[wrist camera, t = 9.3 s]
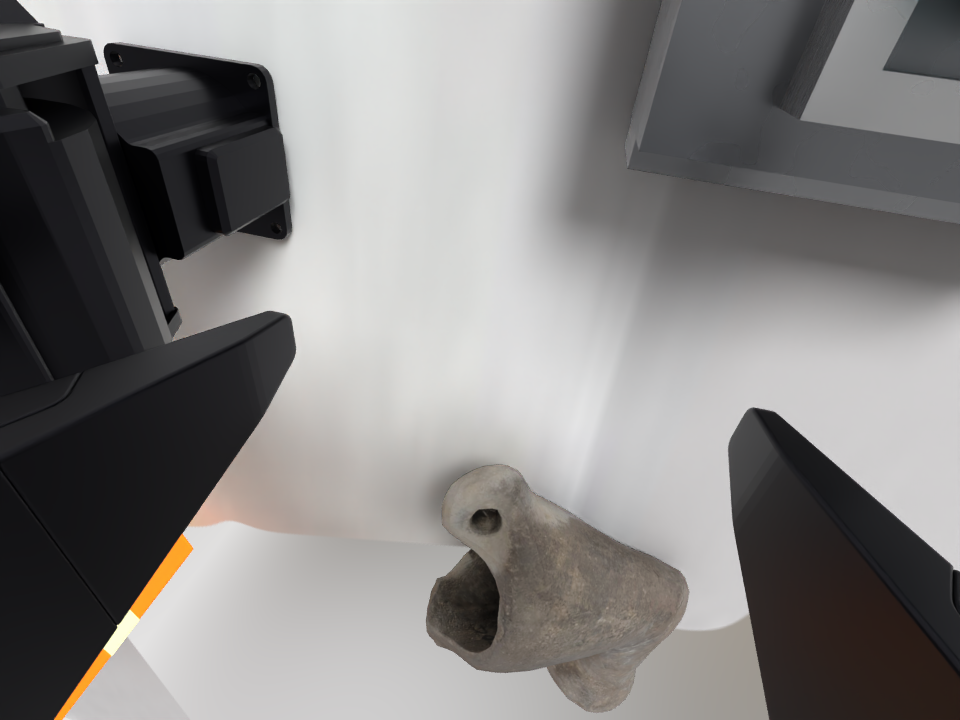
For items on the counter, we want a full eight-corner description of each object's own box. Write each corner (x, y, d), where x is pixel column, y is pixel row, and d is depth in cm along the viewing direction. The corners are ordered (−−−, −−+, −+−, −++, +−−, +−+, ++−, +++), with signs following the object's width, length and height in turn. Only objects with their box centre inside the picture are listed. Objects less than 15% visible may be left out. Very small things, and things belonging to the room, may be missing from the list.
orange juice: (59, 478, 39) (-320, 802, 23) (149, 487, 37) (-200, 852, 21) (112, 538, 43) (-175, 846, 27) (195, 550, 41) (-65, 890, 25)
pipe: (616, 423, 34) (409, 433, 28) (729, 464, 26) (476, 490, 20) (593, 641, 36) (393, 699, 29) (693, 742, 28) (449, 852, 21)
